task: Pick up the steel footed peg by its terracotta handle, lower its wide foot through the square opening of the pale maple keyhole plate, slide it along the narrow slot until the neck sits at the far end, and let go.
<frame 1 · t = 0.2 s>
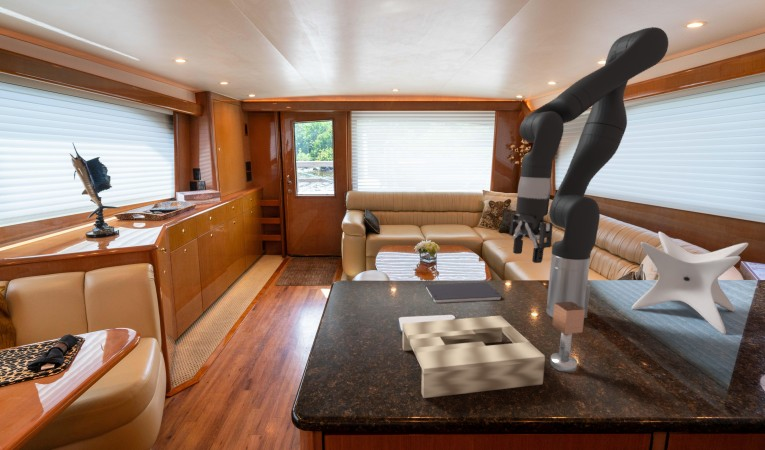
hand: (526, 257, 94), 18 cm above the kitchen counter, tool pointing down, fingers open, 8 cm apart
notebook: (461, 295, 117), on the kitchen counter
smartphone: (428, 328, 95), on the kitchen counter
footed peg: (563, 365, 77), on the kitchen counter
keyhole plate: (466, 364, 78), on the kitchen counter
white spiked concave cube: (682, 311, 104), on the kitchen counter
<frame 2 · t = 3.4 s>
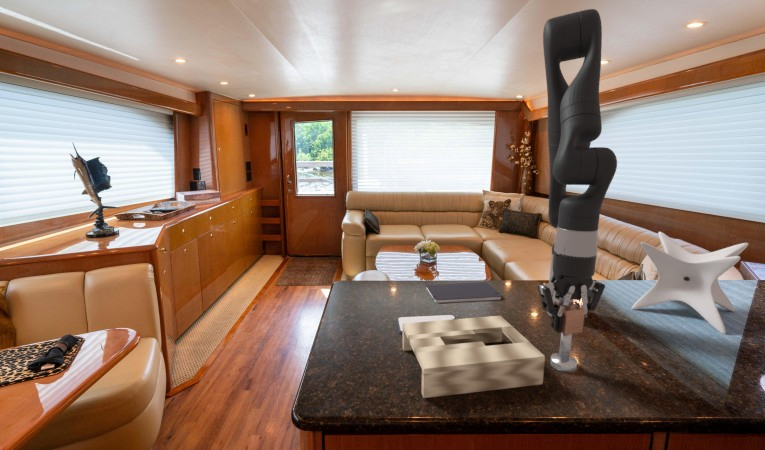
hand: (566, 329, 76), 8 cm above the kitchen counter, tool pointing down, fingers closed on footed peg, 4 cm apart
footed peg: (563, 365, 77), on the kitchen counter, touching gripper
everything else where it was.
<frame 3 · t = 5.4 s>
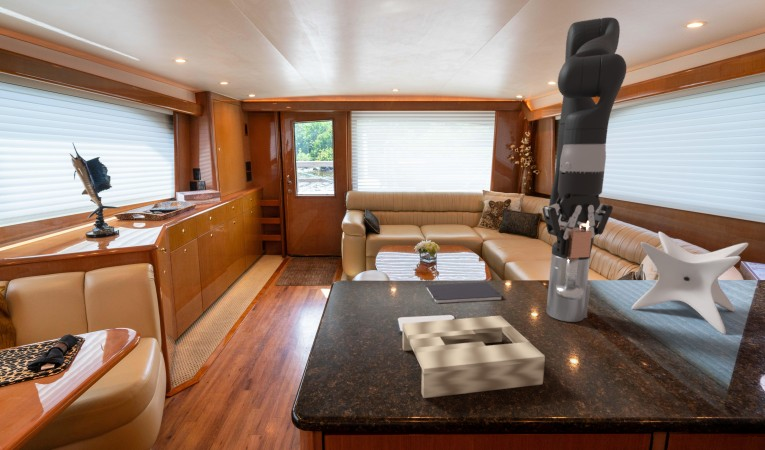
hand: (572, 255, 73), 24 cm above the kitchen counter, tool pointing down, fingers closed on footed peg, 4 cm apart
footed peg: (569, 294, 74), point 16 cm above the kitchen counter, touching gripper
everything else where it was.
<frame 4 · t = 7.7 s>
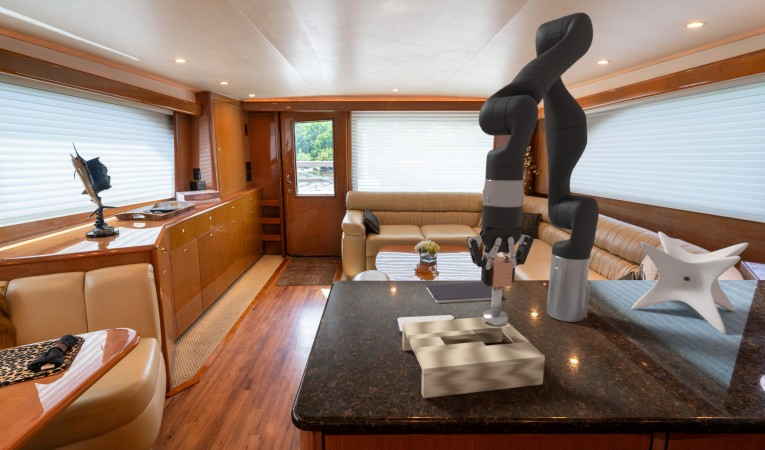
hand: (497, 284, 75), 18 cm above the kitchen counter, tool pointing down, fingers closed on footed peg, 4 cm apart
footed peg: (495, 321, 77), point 9 cm above the kitchen counter, touching gripper
everything else where it was.
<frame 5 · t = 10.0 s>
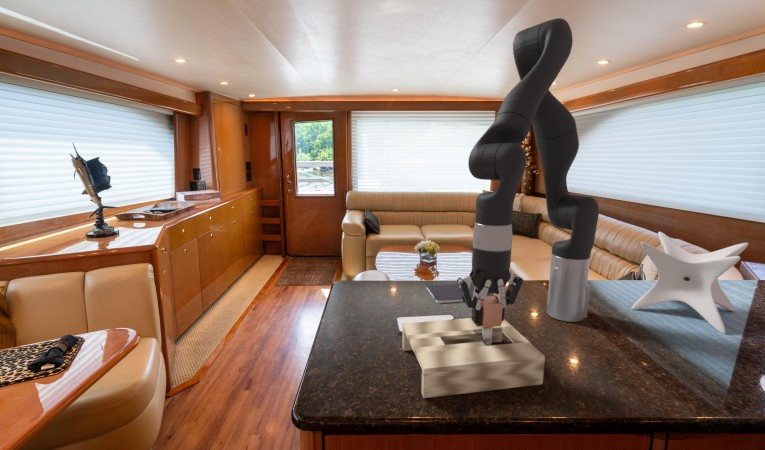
hand: (487, 323, 77), 9 cm above the kitchen counter, tool pointing down, fingers closed on footed peg, 4 cm apart
footed peg: (485, 359, 78), point 1 cm above the kitchen counter, touching gripper
everything else where it was.
when the fingers open (9 cm above the kitchen counter, at t = 12.1 s): footed peg stays where it is, on the kitchen counter.
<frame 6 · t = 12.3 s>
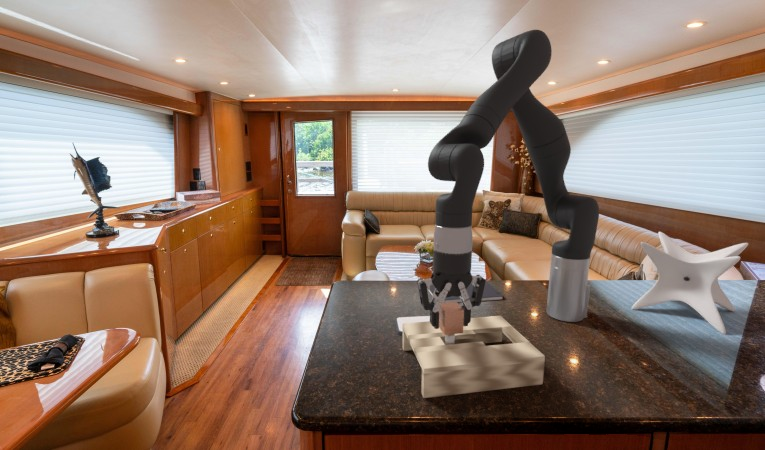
hand: (449, 325, 75), 9 cm above the kitchen counter, tool pointing down, fingers open, 5 cm apart
footed peg: (448, 366, 77), on the kitchen counter
everything else where it was.
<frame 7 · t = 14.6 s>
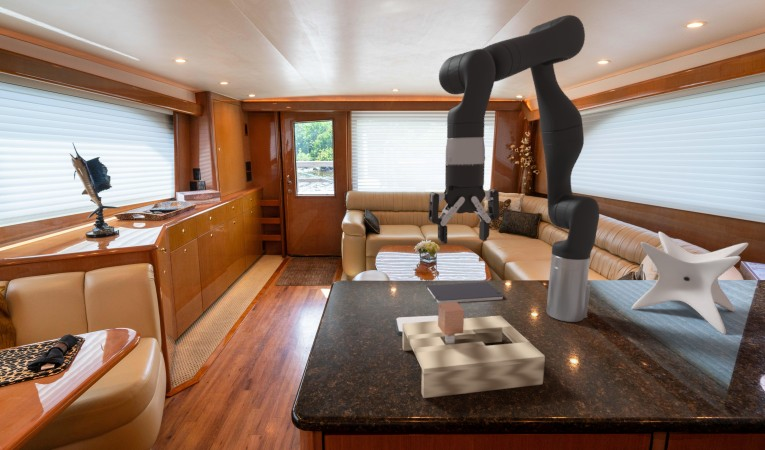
hand: (463, 241, 75), 26 cm above the kitchen counter, tool pointing down, fingers open, 8 cm apart
nothing on the kitchen counter moved.
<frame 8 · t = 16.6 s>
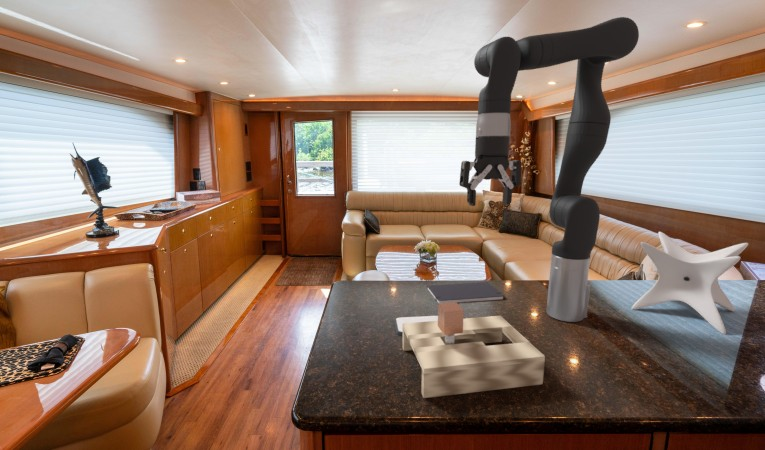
hand: (488, 204, 87), 32 cm above the kitchen counter, tool pointing down, fingers open, 8 cm apart
nothing on the kitchen counter moved.
at the end: footed peg 0.1 cm from the target spot on the keyhole plate, point 0.0 cm above the keyhole plate's base; the gripper is holding nothing; footed peg tilted 0° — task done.
